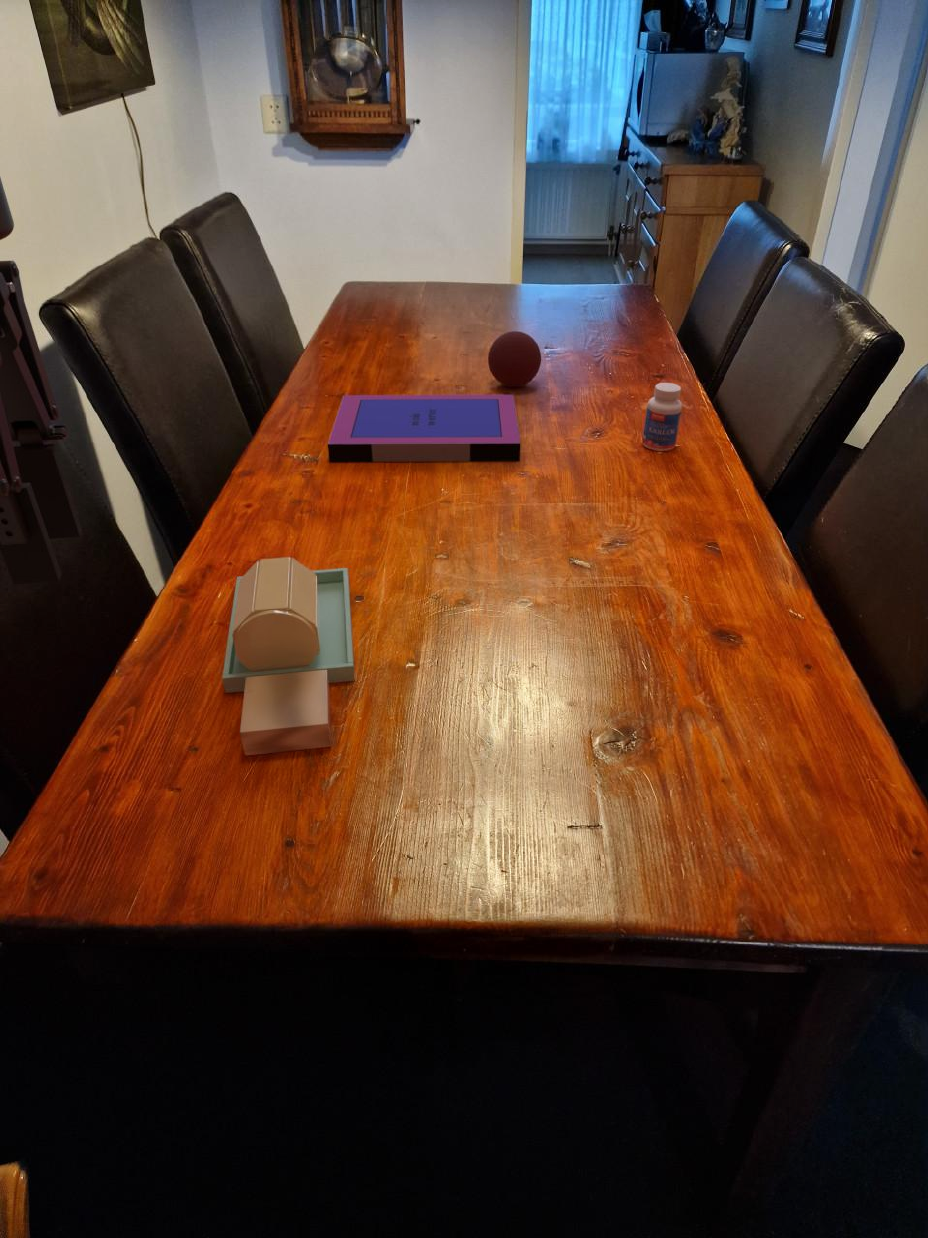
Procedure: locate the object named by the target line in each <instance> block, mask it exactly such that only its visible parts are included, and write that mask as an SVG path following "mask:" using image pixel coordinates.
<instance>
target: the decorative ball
mask: <svg viewBox="0 0 928 1238" xmlns="http://www.w3.org/2000/svg"><path fill="white" fill-rule="evenodd" d="M487 362H488V368H489V371H490V373H491V375H492V377H493V378H494V379H495V380H496V381H497V382H499V384H501V385H504V386H506V387H510V388H520V387H522V386H526V385H527V384H529V383H531V382H532V381H533V380H534V379H535V377H537V375H538V373H539V371H540V368H541V364H542V353H541V349H540V347H539V344H538V343H537V342H536V340H535V339H534V338H533V337H532V336H531V335H529V334H528V333H526V332H523V331H517V330H513V331H508V332H505V333H502V334H500V336H498V337H497V338H496V339H495V340H494V341H493V343H492V344H491V346H490V348H489V351H488V354H487Z"/></svg>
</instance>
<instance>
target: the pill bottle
mask: <svg viewBox="0 0 928 1238" xmlns="http://www.w3.org/2000/svg"><path fill="white" fill-rule="evenodd" d="M681 391H682V388H681V386H680V385H678V384H676V383H672V382H659V383H657V384H656V385H655V386H654V390H653V397H651V398H649V400H648V402H647V406H646V412H645V418H644V425H643V432H642V440H641V443H642V445H643V447H645V448H646V449H648V450H651V451H655V452H656V451H657V452H666V451H671V450H673V449H674V448H675V446H676V444H677V439H678V433H679V427H680V421H681V416H682V410H683V403H682V401H681V400H680V399H679V398H680V397H681Z"/></svg>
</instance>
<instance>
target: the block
mask: <svg viewBox="0 0 928 1238" xmlns="http://www.w3.org/2000/svg"><path fill="white" fill-rule="evenodd" d="M331 718H332V717H331V689H330V683H329V681H328V673H327V670H318V671H307V672H297V673H286V674H275V675H265V676H254V677H246V681H245V690H244V691H243V700H242V708H241V719H240V726H239V727H240V728H239V735H240V740H241V745H242V748H243V753H244V756H255V755H264V754H265V755H267V754H275V753H283V752H284V753H285V752H292V751H293V752H295V751H303V750H313V749H321V748H331V747H332V725H331V720H332V719H331Z"/></svg>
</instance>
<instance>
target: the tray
mask: <svg viewBox="0 0 928 1238" xmlns="http://www.w3.org/2000/svg"><path fill="white" fill-rule="evenodd" d="M312 571H313V572H314V573H316V575H317V579H318V587H319V595H320V651H319V654H318V655H317V656H316V657H315V659H314V660H313V662H312V663H311V664H310V665H309V666H308V667H301V668H291V669H280V670H269V671H259V672H252V671H251V670H249V669H248V668H247V667H245V666H244V665H243V664H242V662H240V661H239V659H237V655H236V651H235V646H234V641H233V637H232V630H233V623H234V616H235V609H236V602H237V595H238V588H239V582H240V579H241V578H242V577H243V576H244V575H240V576H236V582H235V587H234V588H235V589H234V596H233V603H232V608H231V615H230V620H229V621H230V623H229V629H228V636H227V643H226V648H225V649H226V650H225V657H224V663H223V670H222V677H221V680H222V684H223V689H224V692H225V694H230V693H240V692H241V693H242V692H244V690H245V681H246V677H254V676H265V675H275V674H286V673H297V672H307V671H318V670H327V673H328V681H329V684H335V683H336V684H337V683H345V682H355V681H356V674H355V659H354V658H355V657H354V642H353V640H354V639H353V626H352V624H353V623H352V605H351V592H350V591H351V589H350V577H349V568H348V567H340V568H339V567H338V568H328V569H317V570H316V569H315V570H312Z"/></svg>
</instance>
